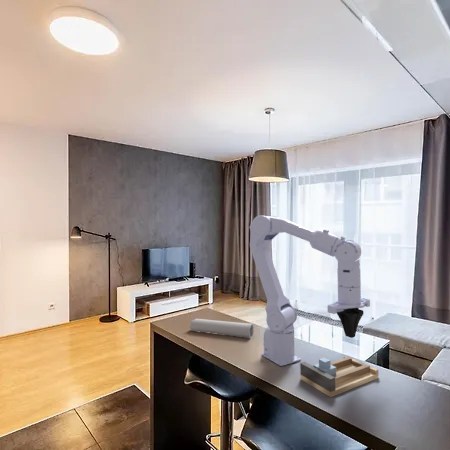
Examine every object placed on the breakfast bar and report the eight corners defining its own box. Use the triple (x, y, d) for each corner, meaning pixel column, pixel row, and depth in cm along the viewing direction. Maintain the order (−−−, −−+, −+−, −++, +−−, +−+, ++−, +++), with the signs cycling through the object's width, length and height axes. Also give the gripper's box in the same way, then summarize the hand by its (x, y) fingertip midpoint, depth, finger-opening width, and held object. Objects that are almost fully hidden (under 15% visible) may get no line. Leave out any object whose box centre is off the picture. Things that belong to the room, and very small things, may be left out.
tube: (186, 323, 116) (248, 329, 107) (192, 315, 121) (252, 320, 112) (188, 334, 118) (250, 342, 109) (194, 326, 122) (254, 332, 113)
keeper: (313, 377, 78) (313, 358, 78) (324, 373, 80) (324, 355, 80) (325, 384, 74) (324, 364, 74) (336, 380, 76) (336, 360, 76)
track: (300, 379, 79) (300, 363, 80) (346, 363, 88) (346, 349, 88) (330, 397, 71) (330, 379, 71) (378, 378, 80) (378, 362, 80)
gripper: (342, 291, 74) (343, 346, 74) (379, 285, 81) (380, 335, 81) (320, 286, 81) (321, 337, 80) (356, 281, 88) (357, 328, 87)
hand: (350, 336), depth 81 cm, fingers closed
